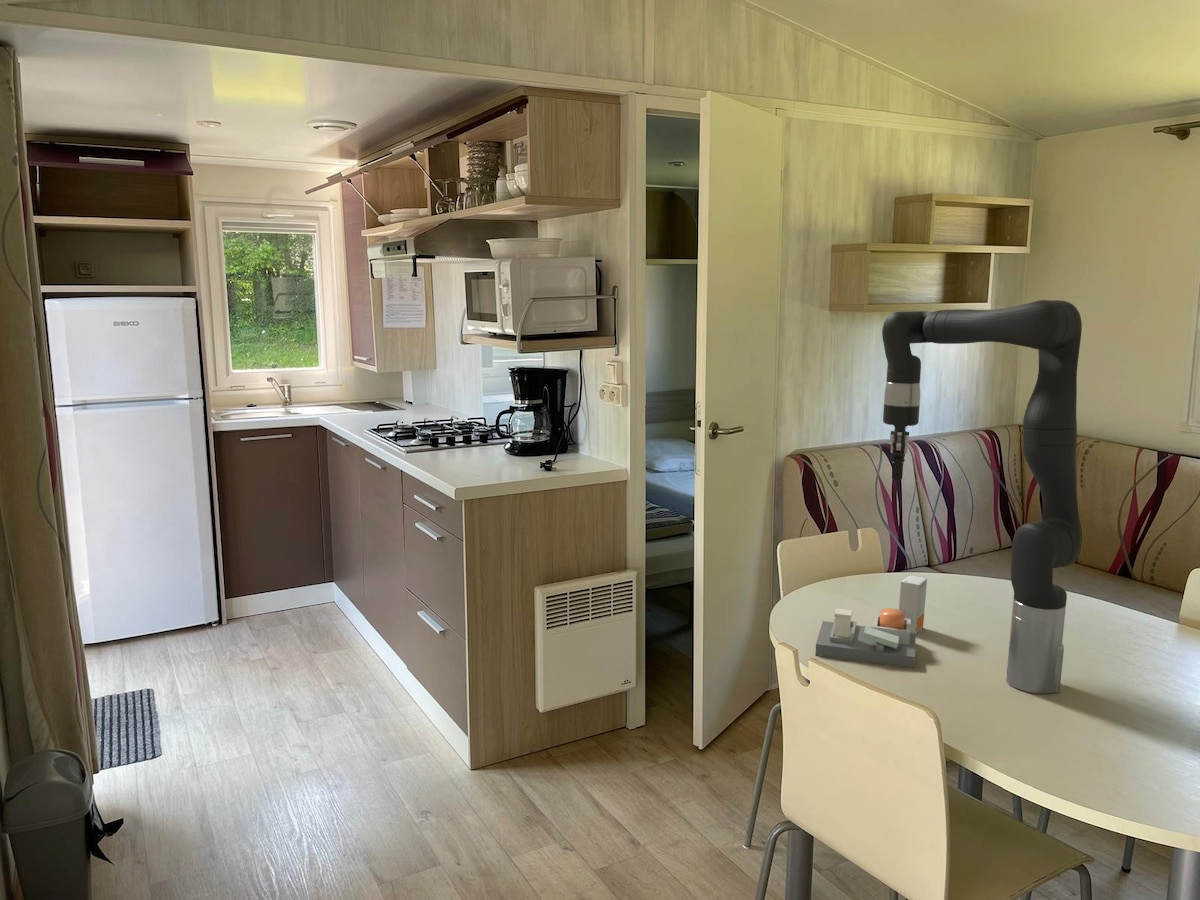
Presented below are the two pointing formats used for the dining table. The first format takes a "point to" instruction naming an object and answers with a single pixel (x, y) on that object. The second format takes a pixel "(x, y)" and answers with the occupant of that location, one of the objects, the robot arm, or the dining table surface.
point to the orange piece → (892, 618)
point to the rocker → (881, 637)
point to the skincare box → (913, 600)
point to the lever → (842, 623)
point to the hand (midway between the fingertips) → (897, 479)
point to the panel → (868, 644)
